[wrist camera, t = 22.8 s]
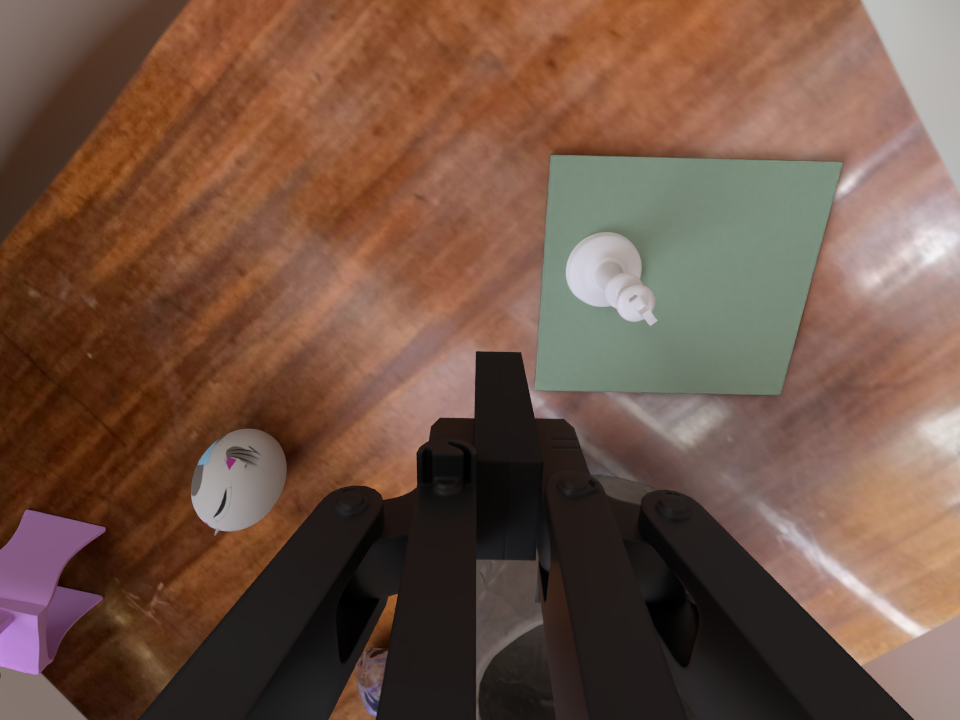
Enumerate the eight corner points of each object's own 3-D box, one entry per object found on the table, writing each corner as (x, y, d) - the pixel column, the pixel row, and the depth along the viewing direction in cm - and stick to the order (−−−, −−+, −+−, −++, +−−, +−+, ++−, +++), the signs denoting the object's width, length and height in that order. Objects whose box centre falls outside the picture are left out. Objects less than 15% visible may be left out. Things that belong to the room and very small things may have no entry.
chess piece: (595, 319, 36) (636, 380, 27) (550, 267, 35) (576, 312, 25) (654, 272, 35) (718, 318, 26) (610, 215, 33) (660, 243, 24)
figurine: (239, 394, 39) (193, 442, 33) (315, 427, 40) (285, 479, 34) (207, 474, 41) (160, 532, 35) (279, 503, 43) (245, 564, 36)
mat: (550, 154, 33) (551, 154, 32) (837, 161, 33) (843, 161, 32) (534, 387, 39) (535, 390, 38) (776, 391, 39) (780, 395, 38)
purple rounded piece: (467, 709, 51) (455, 777, 46) (395, 711, 53) (375, 778, 47) (433, 616, 47) (415, 679, 42) (356, 622, 49) (330, 683, 44)
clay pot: (404, 574, 45) (371, 764, 32) (528, 385, 39) (557, 521, 25) (604, 658, 49) (653, 858, 36) (750, 499, 43) (882, 672, 29)
